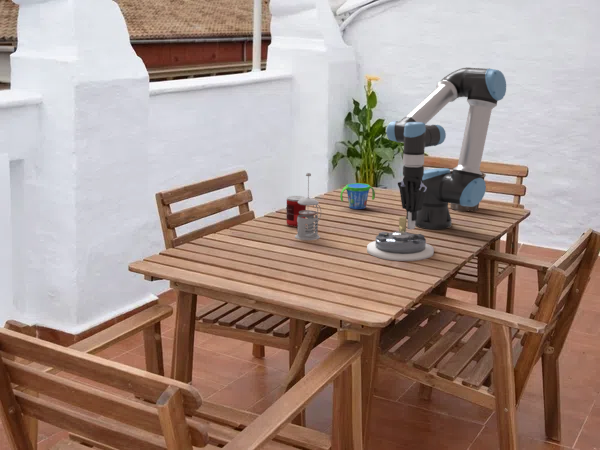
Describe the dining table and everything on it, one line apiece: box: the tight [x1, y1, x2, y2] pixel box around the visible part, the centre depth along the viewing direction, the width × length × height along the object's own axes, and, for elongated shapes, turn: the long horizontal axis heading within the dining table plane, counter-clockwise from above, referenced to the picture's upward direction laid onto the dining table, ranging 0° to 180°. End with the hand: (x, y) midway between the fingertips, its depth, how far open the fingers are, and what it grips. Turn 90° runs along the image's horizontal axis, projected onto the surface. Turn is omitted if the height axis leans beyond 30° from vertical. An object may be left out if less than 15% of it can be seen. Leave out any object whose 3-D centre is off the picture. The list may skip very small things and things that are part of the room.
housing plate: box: [366, 240, 435, 262], centre depth 306 cm, size 24×24×2 cm
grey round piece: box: [375, 215, 427, 254], centre depth 304 cm, size 18×18×9 cm
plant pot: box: [450, 170, 487, 212], centre depth 373 cm, size 16×16×16 cm
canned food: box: [286, 195, 307, 227], centre depth 342 cm, size 8×8×11 cm
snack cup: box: [339, 182, 376, 210], centre depth 373 cm, size 16×10×10 cm
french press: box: [294, 172, 322, 241], centre depth 322 cm, size 10×12×25 cm
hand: (411, 228), depth 310 cm, fingers closed
